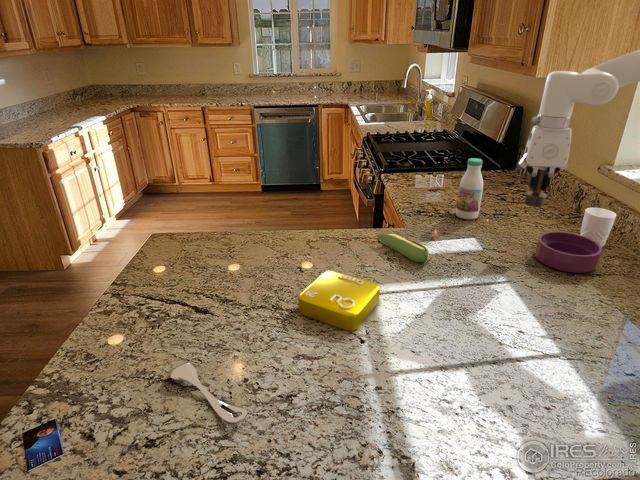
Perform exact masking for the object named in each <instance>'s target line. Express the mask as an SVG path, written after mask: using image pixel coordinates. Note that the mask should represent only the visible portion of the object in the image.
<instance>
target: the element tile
mask: <svg viewBox="0 0 640 480" xmlns="http://www.w3.org/2000/svg"><path fill="white" fill-rule="evenodd" d="M380 291H381V286H380V285H379V284H378V283H376V282H373V281H370V280H367V279H363V278H359V277H357V276H353V275H349V274H346V273H342V272H339V271H336V270H327V271H324V272H323V273H322V274H321V275H320V276H318V277H317V278H316V279H314V281H313V282H311V283H310V284H309V285H308V286H307V287H306V288H305V289H304V290H303V291H302V292H300V293H299V295H298V311H299V313H300V314H301V315H303V316H305V317H308V318H311V319H314V320H317V321H318V322H322V323H325V324H327V325H331V326H334V327H336V328H338V329H342V330H344V331H350V332H351V331H352V332H353V331H355V330H357V329H358V328H360V326H361V325H362V324H363V323H364V321H365V320H366V319H367V317H369V315H371V314H372V311H374V309H375V308H376V306H377V305H378V304H379V302H380V293H381V292H380Z"/></svg>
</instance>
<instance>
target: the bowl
mask: <svg viewBox="0 0 640 480" xmlns="http://www.w3.org/2000/svg"><path fill="white" fill-rule="evenodd" d="M602 254H603V247H601V246H600V245H599V244H598V243H597V242H595V241H594V240H592V239H590V238H587V237H585V236H582V235H580V234H579V233H578V234H577V233H574V232H568V231H560V230H559V231H556V230H554V231H546V232H542V233H541V234H540V235H538V238H537V241H536V246H535V250H534V257H536V259H537V260H538V261H539V262H541V264H543V265H545V266H548V267H550V268H554V269H555V270H559V271H563V272H568V273H576V274H584V273H590V272H592V271H595V270H596V269H597V268H598V266H599V263H600V260H601V256H602Z"/></svg>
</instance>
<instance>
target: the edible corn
mask: <svg viewBox="0 0 640 480" xmlns="http://www.w3.org/2000/svg"><path fill="white" fill-rule="evenodd" d="M376 237H377V239H378V240H379V241H380V243H382V244H384V245H385V246H387V247H389V248H391V249H392V250H395V252H397V253H399V254H400V255H402V256H403V257H406V259H409V260H410V261H413V262H414V263H423V262H426V261H428V260H429V259H430V258H431V255H430V252H429V250H428V248H427V247H426V246H424V245H422V244H421V243H418V242H416V241H414V240H411V239H408V238H407V237H403V236H401V235H398V234H396V233H393V232H390V233H389V234H382V233H379V234H377V235H376Z"/></svg>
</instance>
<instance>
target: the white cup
mask: <svg viewBox="0 0 640 480" xmlns="http://www.w3.org/2000/svg"><path fill="white" fill-rule="evenodd" d="M583 213H584V214H583V218H582V222H581V227H580V232H579V233H580V234H579V235H582V236H585V237H587V238H590V239H592V240H594V241H595V242H597V243H598V244H599V245H600V246H601V247H602V248H603V247H605V245H606V243H607V240H608V238H609V236H610V233H611V231H612V229H613V226H614V224H615V221H616V219H617V213H616V212H614V211H612V210H611V209H610V210H609V209H606V208H602V207H587V208H586V209H584V212H583Z"/></svg>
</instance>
